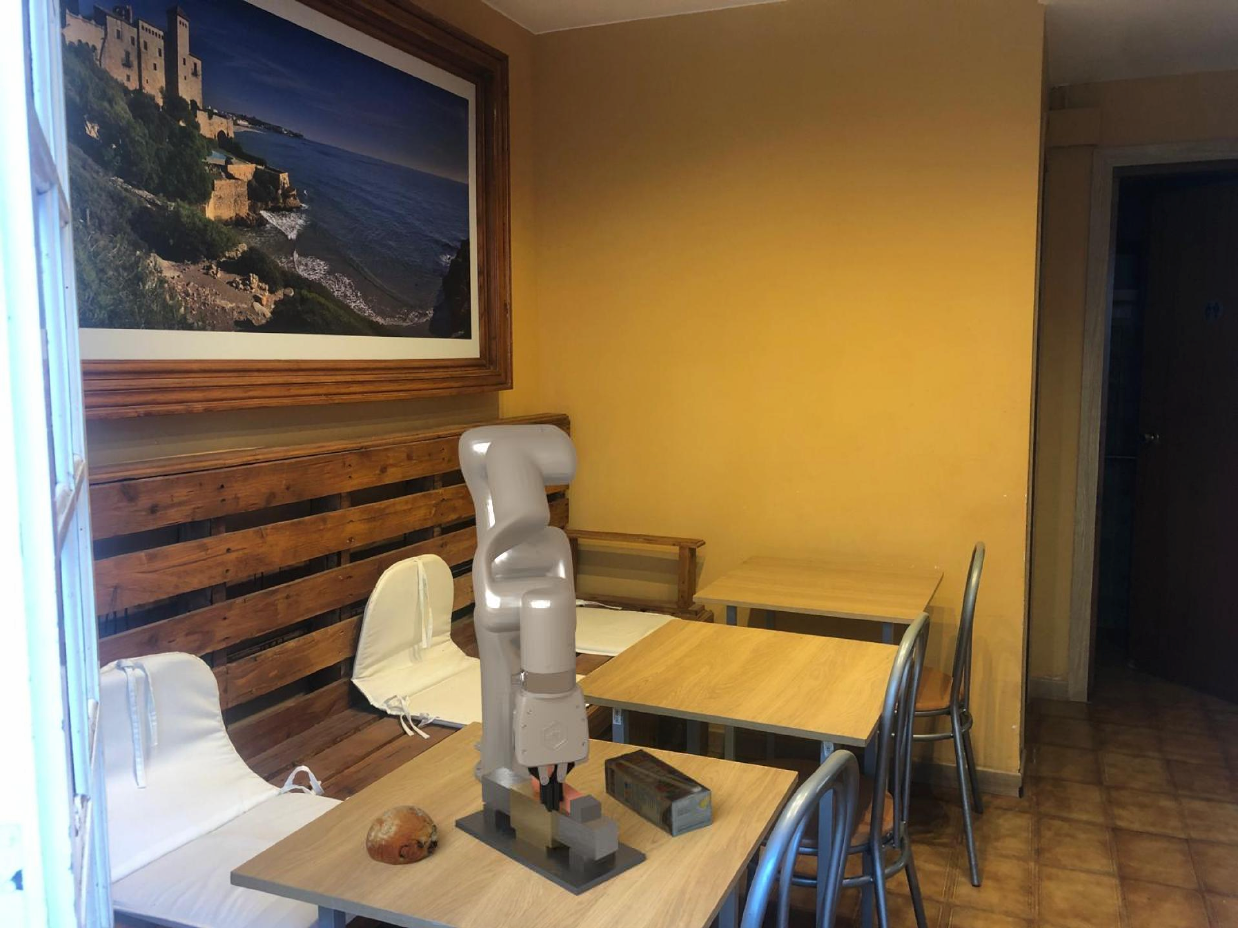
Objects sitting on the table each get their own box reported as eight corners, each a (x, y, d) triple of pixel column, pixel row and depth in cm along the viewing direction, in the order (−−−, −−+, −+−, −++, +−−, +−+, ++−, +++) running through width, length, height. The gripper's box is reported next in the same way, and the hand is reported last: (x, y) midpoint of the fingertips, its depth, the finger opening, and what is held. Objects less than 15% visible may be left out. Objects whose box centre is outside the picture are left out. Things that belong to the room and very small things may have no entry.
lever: (527, 785, 145) (526, 766, 145) (551, 778, 148) (550, 760, 147) (578, 824, 133) (578, 804, 133) (603, 816, 135) (603, 797, 135)
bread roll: (417, 852, 151) (401, 801, 152) (457, 843, 144) (440, 790, 146) (364, 879, 143) (347, 825, 145) (403, 871, 137) (386, 814, 138)
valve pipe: (455, 826, 151) (453, 772, 150) (522, 799, 160) (521, 749, 159) (576, 895, 131) (575, 834, 130) (645, 860, 140) (644, 803, 139)
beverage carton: (671, 840, 147) (671, 797, 146) (602, 794, 162) (601, 755, 162) (713, 826, 151) (713, 784, 150) (642, 782, 167) (641, 745, 166)
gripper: (499, 693, 130) (503, 827, 132) (608, 681, 134) (610, 811, 136) (490, 676, 137) (493, 803, 139) (593, 665, 141) (595, 789, 143)
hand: (551, 806), depth 137 cm, fingers closed
